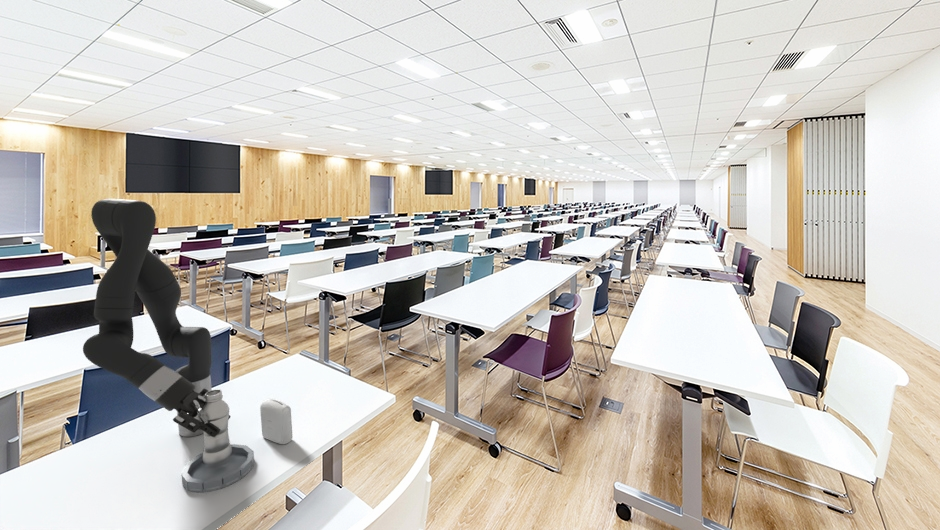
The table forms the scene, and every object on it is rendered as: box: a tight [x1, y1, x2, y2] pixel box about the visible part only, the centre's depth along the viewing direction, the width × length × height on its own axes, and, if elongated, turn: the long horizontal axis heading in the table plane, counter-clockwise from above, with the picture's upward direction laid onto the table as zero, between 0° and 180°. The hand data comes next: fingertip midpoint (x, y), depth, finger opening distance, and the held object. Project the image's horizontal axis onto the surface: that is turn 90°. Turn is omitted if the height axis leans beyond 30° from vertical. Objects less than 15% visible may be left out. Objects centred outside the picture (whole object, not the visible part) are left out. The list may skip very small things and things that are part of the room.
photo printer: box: [259, 398, 293, 445], centre depth 118 cm, size 10×4×12 cm, turn 64°
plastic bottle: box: [202, 388, 232, 468], centre depth 102 cm, size 6×7×20 cm
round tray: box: [180, 443, 255, 493], centre depth 103 cm, size 16×16×2 cm
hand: (222, 426), depth 102 cm, fingers closed on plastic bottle, 6 cm apart
